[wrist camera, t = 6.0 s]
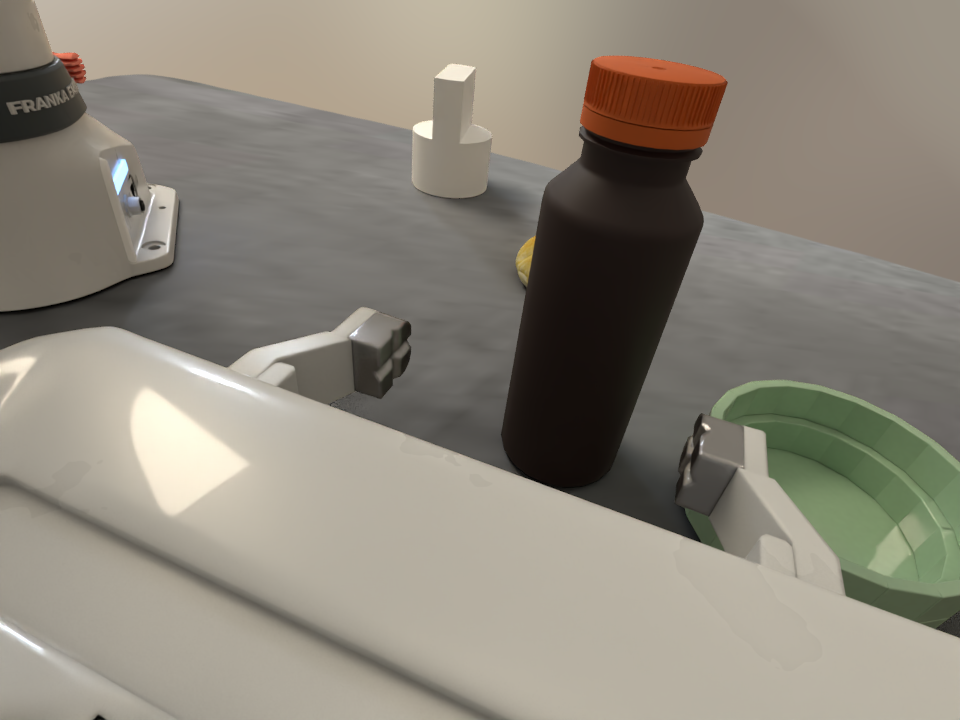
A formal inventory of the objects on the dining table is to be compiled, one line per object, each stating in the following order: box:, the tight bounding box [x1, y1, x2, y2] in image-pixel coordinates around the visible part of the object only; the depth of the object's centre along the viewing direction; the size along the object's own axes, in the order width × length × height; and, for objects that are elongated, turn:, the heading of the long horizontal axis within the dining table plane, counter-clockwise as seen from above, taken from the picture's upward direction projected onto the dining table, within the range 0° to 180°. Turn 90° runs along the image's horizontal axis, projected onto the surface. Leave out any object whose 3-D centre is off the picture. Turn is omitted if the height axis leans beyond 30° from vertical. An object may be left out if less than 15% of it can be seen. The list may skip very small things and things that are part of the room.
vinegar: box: [501, 56, 727, 487], centre depth 25 cm, size 7×7×20 cm
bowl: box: [685, 380, 960, 629], centre depth 27 cm, size 13×13×5 cm
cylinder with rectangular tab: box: [412, 64, 492, 198], centre depth 60 cm, size 9×9×12 cm
